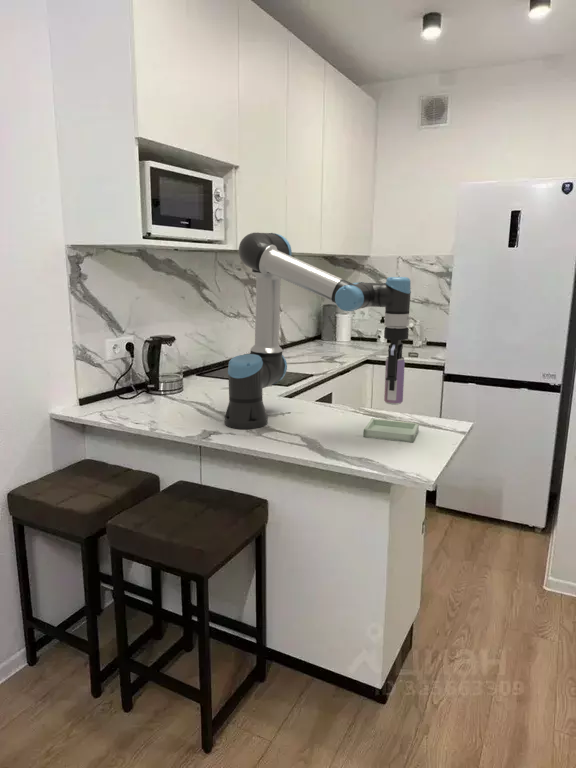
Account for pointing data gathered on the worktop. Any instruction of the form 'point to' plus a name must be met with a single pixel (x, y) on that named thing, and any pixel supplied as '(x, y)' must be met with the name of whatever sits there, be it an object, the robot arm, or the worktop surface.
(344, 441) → the worktop surface
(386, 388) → the beverage can
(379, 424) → the tray
